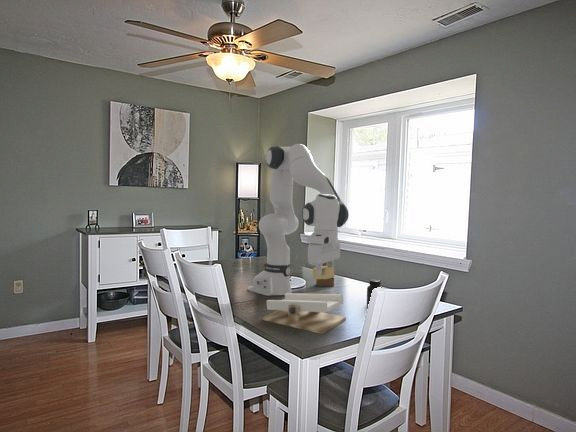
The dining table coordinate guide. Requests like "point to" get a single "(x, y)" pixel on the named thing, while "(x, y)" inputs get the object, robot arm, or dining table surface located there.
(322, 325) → the stand
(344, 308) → the dining table surface
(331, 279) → the wooden block
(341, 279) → the dining table surface
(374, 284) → the supplement bottle
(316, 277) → the block
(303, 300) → the beam
